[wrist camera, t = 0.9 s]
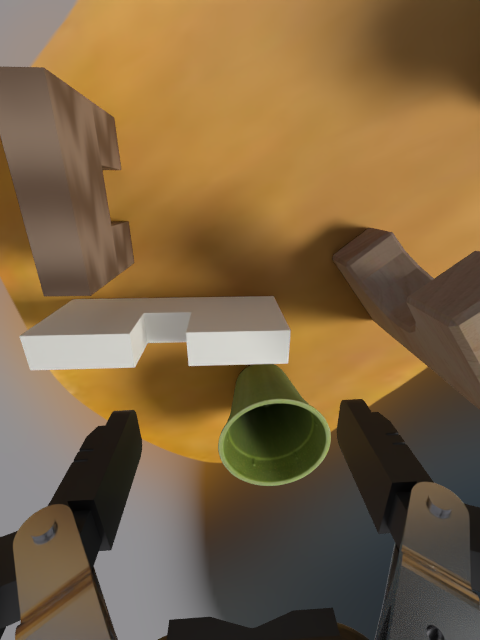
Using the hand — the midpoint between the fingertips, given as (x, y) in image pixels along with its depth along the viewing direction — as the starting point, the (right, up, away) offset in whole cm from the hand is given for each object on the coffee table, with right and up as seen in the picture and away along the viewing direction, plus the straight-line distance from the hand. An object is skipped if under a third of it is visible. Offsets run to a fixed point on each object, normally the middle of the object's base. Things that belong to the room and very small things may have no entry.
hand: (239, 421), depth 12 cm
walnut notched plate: (-14, +17, +19) cm, 29 cm away
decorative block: (+16, +9, +24) cm, 31 cm away
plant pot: (+3, -5, +30) cm, 30 cm away
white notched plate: (-8, +5, +25) cm, 26 cm away
